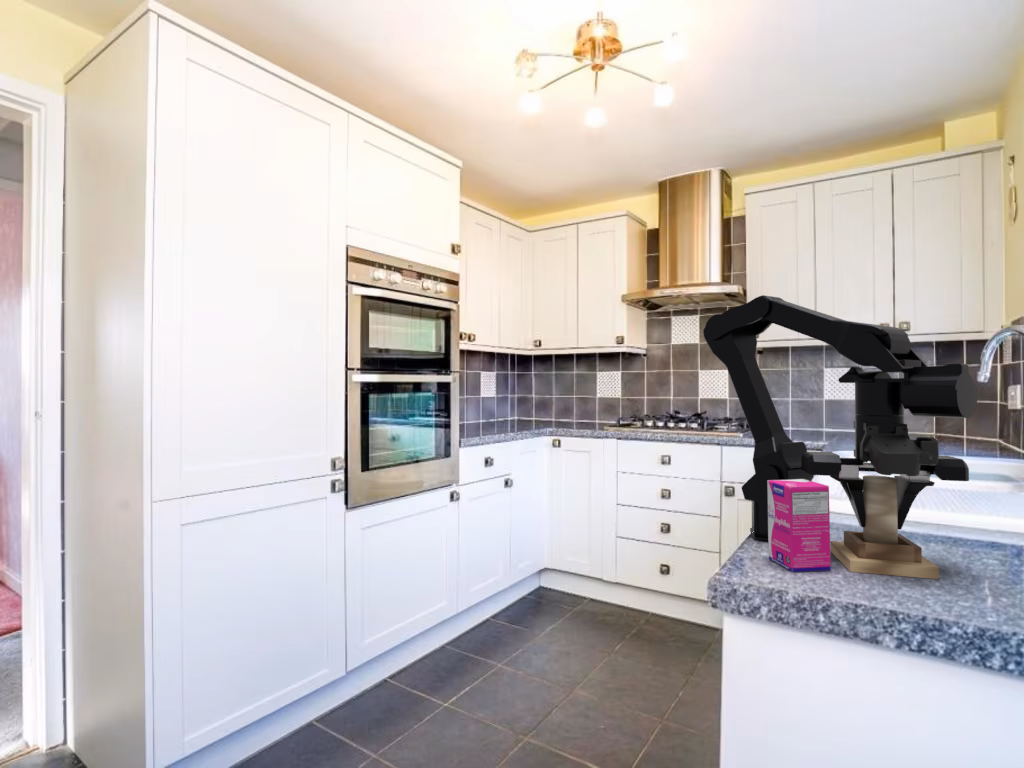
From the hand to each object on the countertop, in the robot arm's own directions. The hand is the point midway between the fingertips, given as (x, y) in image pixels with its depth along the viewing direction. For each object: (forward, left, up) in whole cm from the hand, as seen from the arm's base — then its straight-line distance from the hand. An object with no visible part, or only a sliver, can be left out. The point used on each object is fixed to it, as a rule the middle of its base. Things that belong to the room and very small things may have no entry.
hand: (880, 527), depth 77 cm
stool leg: (0, 0, -3) cm, 3 cm away
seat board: (0, 0, -5) cm, 5 cm away
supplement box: (-11, -4, -5) cm, 13 cm away
